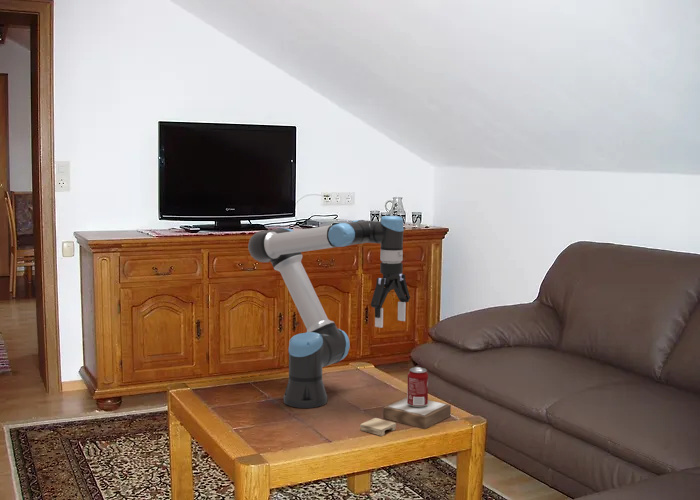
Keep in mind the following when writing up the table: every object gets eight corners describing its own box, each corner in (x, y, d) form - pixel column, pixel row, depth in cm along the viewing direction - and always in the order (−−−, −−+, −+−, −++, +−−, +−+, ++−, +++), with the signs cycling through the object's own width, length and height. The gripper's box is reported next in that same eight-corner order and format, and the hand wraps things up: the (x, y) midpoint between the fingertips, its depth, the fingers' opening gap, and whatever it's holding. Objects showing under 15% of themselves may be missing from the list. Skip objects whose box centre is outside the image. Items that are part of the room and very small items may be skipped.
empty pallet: (360, 430, 240) (360, 424, 240) (375, 423, 246) (375, 417, 246) (381, 436, 235) (381, 429, 235) (395, 429, 242) (395, 423, 241)
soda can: (426, 409, 249) (427, 373, 247) (405, 407, 250) (406, 371, 249) (428, 402, 255) (429, 367, 254) (408, 401, 257) (409, 366, 255)
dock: (383, 418, 252) (383, 406, 251) (409, 406, 264) (410, 394, 264) (424, 428, 242) (425, 416, 242) (450, 415, 255) (450, 404, 254)
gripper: (379, 266, 247) (378, 331, 249) (420, 259, 267) (419, 319, 269) (360, 264, 251) (359, 328, 254) (402, 257, 271) (401, 316, 274)
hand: (390, 323), depth 261 cm, fingers open, 13 cm apart
